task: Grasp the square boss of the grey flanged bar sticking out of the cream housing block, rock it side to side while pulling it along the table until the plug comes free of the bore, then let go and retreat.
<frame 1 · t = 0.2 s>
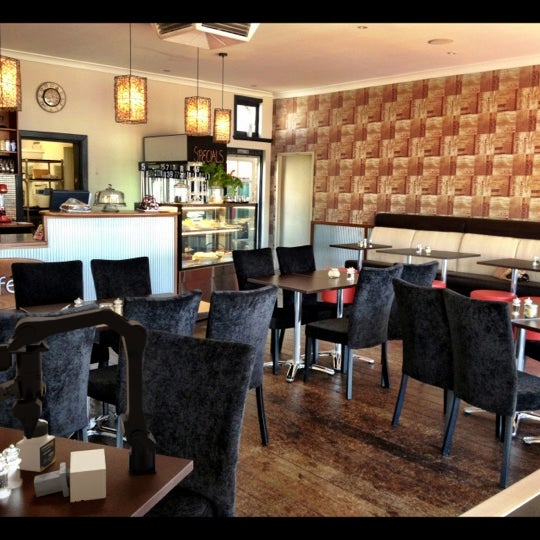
hand: (30, 431, 142), 14 cm above the table, fingers open, 9 cm apart
medicine bottle: (36, 465, 155), on the table
grey flanged bar: (66, 491, 141), on the table, tilted 9°, touching housing
housing: (88, 488, 143), on the table
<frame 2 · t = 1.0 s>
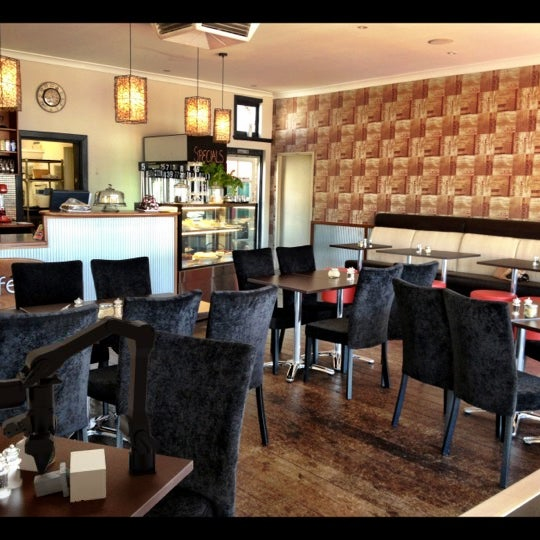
hand: (42, 466, 139), 7 cm above the table, fingers open, 9 cm apart
nothing on the table moved.
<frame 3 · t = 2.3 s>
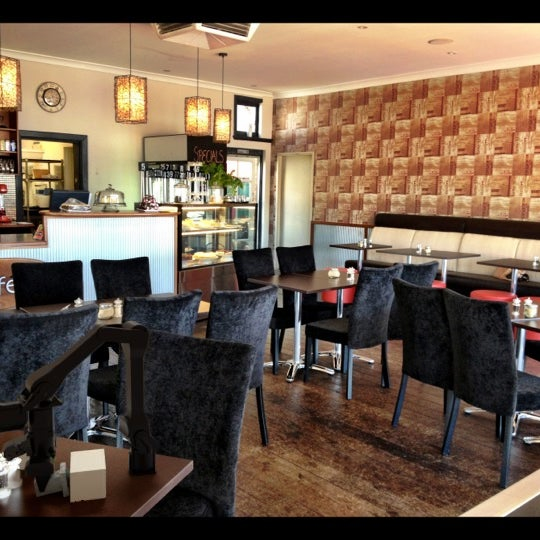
hand: (42, 488, 139), 1 cm above the table, fingers closed on grey flanged bar, 4 cm apart
grey flanged bar: (66, 491, 141), on the table, tilted 9°, touching gripper, housing
everything else where it was.
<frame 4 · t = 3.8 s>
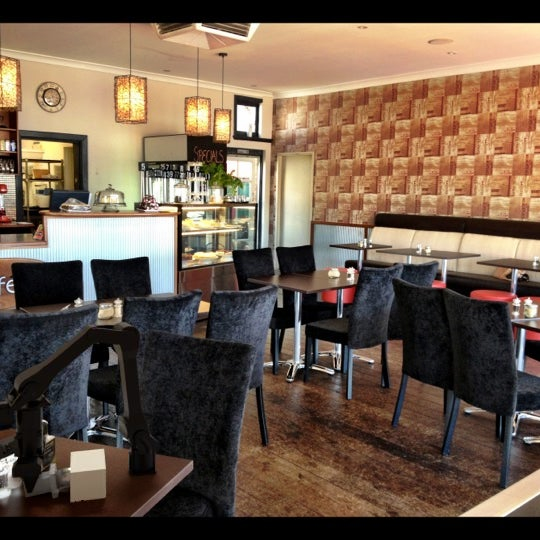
hand: (30, 489, 138), 2 cm above the table, fingers closed on grey flanged bar, 4 cm apart
grey flanged bar: (56, 492, 140), on the table, tilted 7°, touching gripper
everything else where it was.
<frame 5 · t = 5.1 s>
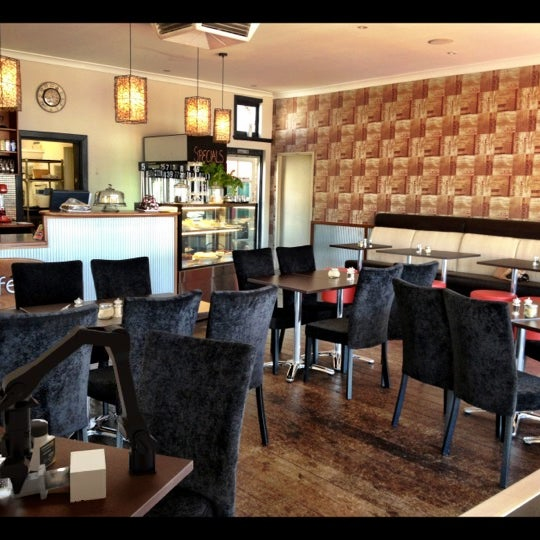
hand: (18, 490, 138), 2 cm above the table, fingers closed on grey flanged bar, 4 cm apart
grey flanged bar: (44, 493, 140), on the table, tilted 7°, touching gripper
everything else where it was.
when the fingers open (1 cm above the table, at t = 5.7 s): grey flanged bar stays where it is, on the table.
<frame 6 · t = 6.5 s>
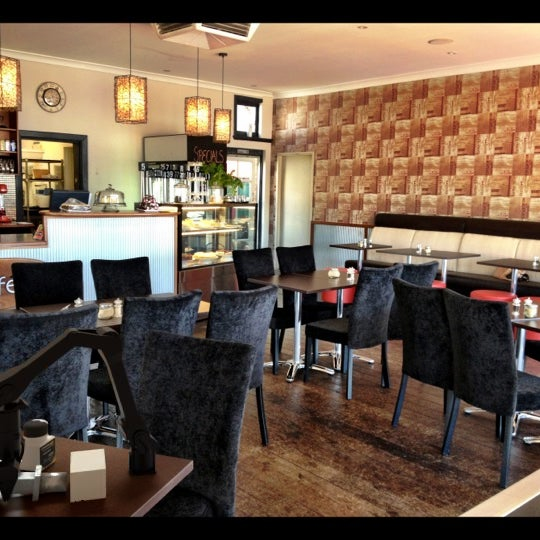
hand: (8, 492, 137), 1 cm above the table, fingers open, 9 cm apart
grey flanged bar: (36, 495, 139), on the table, tilted 6°
everything else where it was.
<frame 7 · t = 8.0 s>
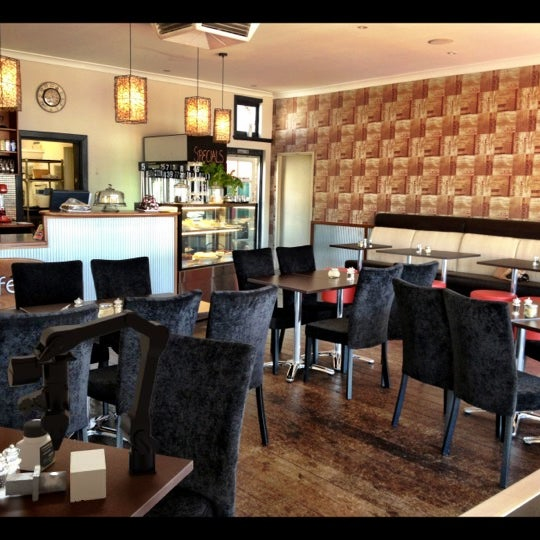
hand: (57, 443, 140), 12 cm above the table, fingers open, 9 cm apart
nothing on the table moved.
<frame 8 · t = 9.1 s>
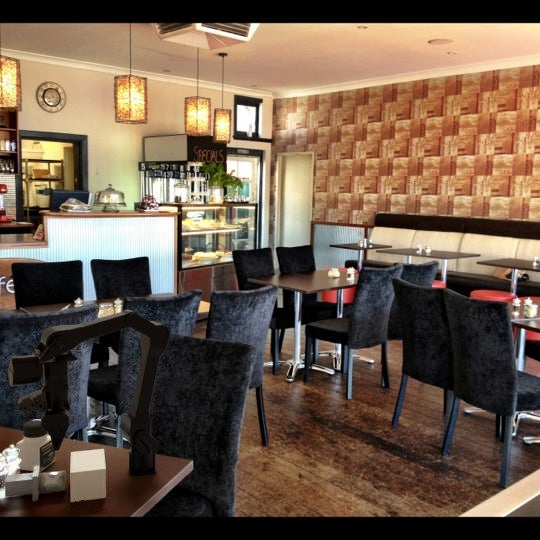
hand: (57, 442, 140), 12 cm above the table, fingers open, 9 cm apart
nothing on the table moved.
at the end: grey flanged bar inside the target area (3.1 cm from its centre), on the table; grey flanged bar moved 6.8 cm from its start; the gripper is holding nothing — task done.
